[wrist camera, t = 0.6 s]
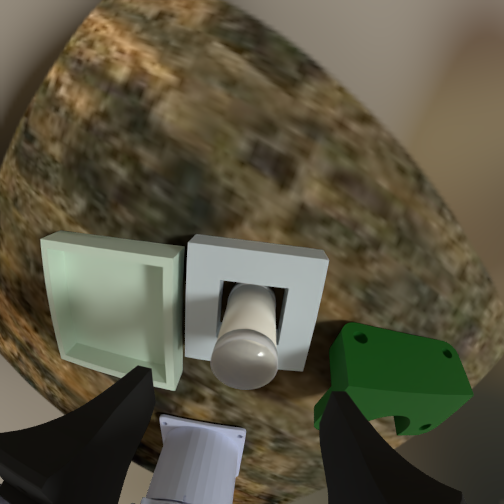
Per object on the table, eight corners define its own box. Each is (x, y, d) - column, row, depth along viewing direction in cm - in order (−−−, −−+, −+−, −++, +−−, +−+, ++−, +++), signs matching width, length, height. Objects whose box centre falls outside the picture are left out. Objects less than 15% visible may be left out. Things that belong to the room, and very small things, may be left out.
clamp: (327, 343, 25) (286, 418, 18) (357, 294, 22) (322, 371, 15) (430, 396, 22) (418, 476, 14) (470, 355, 19) (474, 442, 11)
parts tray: (182, 370, 22) (174, 390, 19) (75, 343, 22) (61, 358, 20) (184, 246, 19) (173, 258, 16) (60, 230, 19) (40, 239, 17)
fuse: (272, 322, 20) (272, 392, 13) (227, 317, 20) (209, 384, 13) (279, 281, 19) (283, 342, 12) (230, 275, 19) (211, 333, 13)
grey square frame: (300, 354, 21) (302, 371, 19) (191, 340, 21) (185, 356, 19) (323, 249, 18) (329, 260, 16) (196, 234, 19) (188, 242, 17)
